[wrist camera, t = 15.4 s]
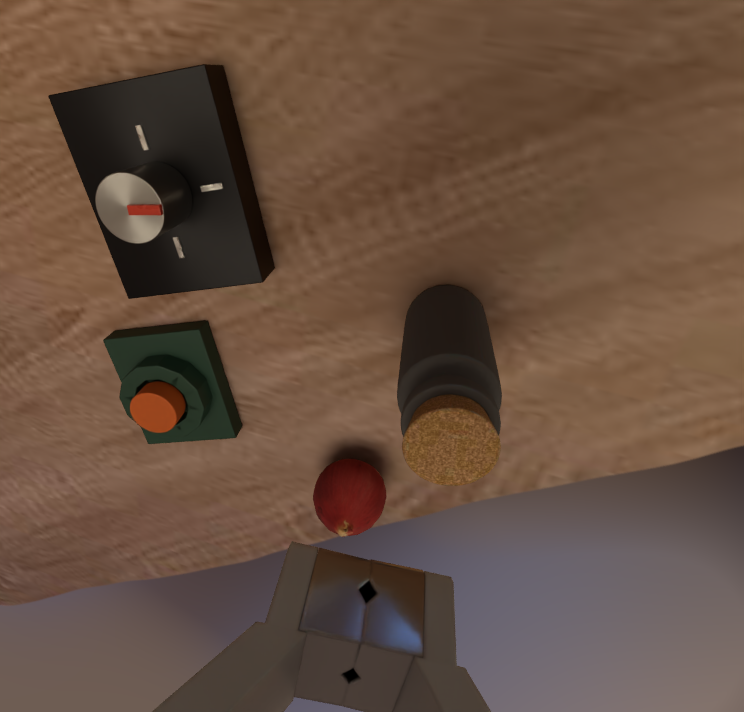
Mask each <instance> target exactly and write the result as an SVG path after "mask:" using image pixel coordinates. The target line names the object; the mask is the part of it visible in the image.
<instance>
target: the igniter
mask: <svg viewBox="0 0 744 712" xmlns="http://www.w3.org/2000/svg"><path fill="white" fill-rule="evenodd" d="M103 341H104V343H105V346H106V348H107V350H108V353H109V355H110V357H111V359H112V362H113V364H114V366H115V369H116V371H117V373H118V375H119V378H120V380H121V382H122V385H121V391H120V399H121V402H122V404H123V406H124V408H125V411H126V413H127V415H128V416H129V417H130V418H131V419H132V420H134V419H133V417H132V415H131V412H130V403H131V401H132V399H133V398H134V397H135V395H136V394H137V393H138V392H139V391H140V390H141V389H142V388H143V387H144V386H145V385H146V384H148V383H150V382H155V381H161V382H165V383H168V384H170V385H172V386H174V387H175V388H177V389H178V390H179V391H180V392H181V394H182V395H183V397H184V399H185V403H186V409H185V412H184V414H183V415H182V417H181V418H180V419H179V421H178V422H177V423H176V425H175V426H174V427H173V428H172V429H171V430H169V431H167V432H163V433H156V432H151V431H148V430H146V429H144V428H143V427H141V426H140V425H139V424H138V423H137V422H136V421H135V420H134V421H135V422H136V423H137V424H138V425H139V426H140V427H141V428H142V430H143V433H144V435H145V437H146V440H147V442H148V444H157V443H171V442H185V441H199V440H213V439H227V438H236V437H237V435H238V433H239V431H240V429H241V428H242V424H241V421H240V418H239V415H238V412H237V409H236V406H235V403H234V400H233V397H232V394H231V391H230V388H229V385H228V382H227V379H226V376H225V373H224V370H223V367H222V364H221V360H220V357H219V354H218V351H217V348H216V345H215V342H214V339H213V336H212V333H211V330H210V327H209V324H208V321H198V322H189V323H181V324H172V325H163V326H154V327H145V328H136V329H127V330H118V331H114V332H113V333H111V334H110V335H109V336H107V337H106V338H105V339H104V340H103Z"/></svg>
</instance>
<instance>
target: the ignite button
mask: <svg viewBox="0 0 744 712" xmlns="http://www.w3.org/2000/svg"><path fill="white" fill-rule="evenodd" d="M185 409H186V403H185V399H184V397H183V395H182V394H181V392H180V391H179V390H178V389H177V388H175V387H174V386H172V385H170V384H168V383H165V382H161V381H155V382H150V383H148V384H146V385H145V386H144V387H143V388H142V389H141V390H140V391H139V392H138V393H137V394H136V395H135V397H134V398H133V399H132V401H131V403H130V412H131V415H132V417H133V419H134V420H135V421H136V422H137V423H138V424H139V425H140V426H141V427H143V428H144V429H146V430H148V431H151V432H156V433H163V432H167V431H169V430H171V429H172V428H173V427H174V426H175V425H176V423H177V422H178V421H179V419H180V418H181V417H182V415H183V414H184V412H185Z"/></svg>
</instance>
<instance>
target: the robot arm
mask: <svg viewBox="0 0 744 712" xmlns="http://www.w3.org/2000/svg"><path fill="white" fill-rule="evenodd" d="M317 553H318V554H317ZM453 587H454V586H453V580H452V578H451V577H449V576H444V575H439V574H434V573H430V572H426V571H424V572H423V570H419V569H414V568H410V567H405V566H400V565H395V564H391V563H385V562H381V561H376V560H367V559H363V558H359V557H355V556H351V555H347V554H343V553H339V552H334V551H330V550H327V549H323V548H319V550H318V547H314V546H310V545H305V544H301V543H297V542H293V541H292V542H291V544H290V546H289V548H288V551H287V554H286V557H285V560H284V564H283V567H282V570H281V573H280V576H279V580H278V583H277V586H276V589H275V592H274V596H273V599H272V602H271V605H270V609H269V612H268V615H267V618H266V621H265V623H262V622H255V623H254V624H253V625H252V626H251V627H250V628H249V629H247V630H246V631H245V632H244V633H243V634H242V635H240V636H239V637H238V638H237V639H236V640H235V641H233V642H232V643H231V644H230V645H229V646H228V647H226V648H225V649H224V650H223V651H222V652H221V653H219V654H218V655H217V656H216V657H215V658H214V659H213V660H211V661H210V662H209V663H208V664H207V665H206V666H204V667H203V668H202V669H201V670H200V671H199V672H197V673H196V674H195V675H194V676H193V677H192V678H191V679H189V680H188V681H187V682H186V683H185V684H184V685H183V686H181V687H180V688H179V689H178V690H177V691H175V692H174V693H173V694H172V695H171V696H170V697H168V698H167V699H166V700H165V701H164V702H163V703H161V704H160V705H159V706H158V707H157V708H156V709H155V710H153V712H284V711H285V709H286V708H287V707H288V706H289V705H290V703H291V702H292V701H293V698H294V697H297V698H303V699H308V700H313V701H318V702H323V703H329V704H334V705H339V706H344V707H348V708H351V709H355V710H359V711H364V712H491V711H490V709H489V707H488V706H487V704H486V702H485V701H484V699H483V697H482V696H481V694H480V692H479V691H478V689H477V687H476V686H475V684H474V682H473V681H472V679H471V677H470V676H469V674H468V672H467V670H466V669H465V668H463V667H460V666H457V663H456V638H455V612H454V588H453Z"/></svg>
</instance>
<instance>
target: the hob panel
mask: <svg viewBox="0 0 744 712" xmlns="http://www.w3.org/2000/svg"><path fill="white" fill-rule="evenodd" d="M49 99H50V101H51V104H52V106H53V109H54V112H55V114H56V117H57V119H58V122H59V124H60V127H61V129H62V132H63V134H64V137H65V139H66V142H67V144H68V147H69V149H70V152H71V154H72V157H73V159H74V162H75V164H76V167H77V170H78V172H79V175H80V177H81V180H82V182H83V185H84V187H85V190H86V192H87V195H88V197H89V200H90V202H91V205H92V207H93V210H94V212H95V215H96V217H97V220H98V223H99V225H100V228H101V230H102V233H103V235H104V238H105V240H106V243H107V245H108V248H109V250H110V253H111V255H112V258H113V260H114V263H115V265H116V268H117V270H118V273H119V276H120V278H121V281H122V283H123V286H124V288H125V291H126V293H127V296H128V298H129V299H131V298H140V297H148V296H156V295H164V294H172V293H180V292H188V291H197V290H205V289H213V288H221V287H229V286H237V285H245V284H254V283H262V282H264V280H265V279H266V278H267V277H268V276H269V274H270V273H271V272H272V271H273V270H274V268H275V267H274V263H273V259H272V255H271V251H270V248H269V244H268V240H267V236H266V232H265V228H264V224H263V220H262V216H261V212H260V208H259V204H258V200H257V196H256V193H255V189H254V185H253V181H252V177H251V173H250V169H249V165H248V161H247V157H246V153H245V149H244V145H243V141H242V137H241V134H240V130H239V126H238V122H237V118H236V114H235V110H234V106H233V102H232V98H231V94H230V90H229V86H228V82H227V79H226V75H225V71H224V67H223V65H207V64H203V65H198V66H193V67H188V68H183V69H178V70H173V71H168V72H163V73H158V74H153V75H148V76H143V77H138V78H133V79H128V80H123V81H118V82H113V83H108V84H103V85H98V86H93V87H88V88H83V89H78V90H73V91H68V92H63V93H58V94H53V95H49ZM149 162H161V163H165V164H167V165H170V166H171V167H173V168H175V169H176V170H177V171H178V172H179V173H180V174H181V175H182V176H183V177H184V178H185V180H186V181H187V183H188V185H189V187H190V190H191V194H192V208H191V212H190V214H189V216H188V217H187V219H186V220H185V221H184V222H182V223H181V224H179V225H177V226H176V227H174V228H172V229H170V230H169V231H167V232H165V233H164V234H162V235H160V236H158V237H157V238H155V239H153V240H151V241H150V242H147V243H142V244H135V243H129V242H126V241H124V240H122V239H120V238H118V237H116V236H115V235H114V234H112V233H111V232H110V231H109V230H108V229H107V228H106V226H105V225H104V224H103V222H102V221H101V219H100V217H99V215H98V212H97V208H96V202H95V197H96V191H97V188H98V186H99V184H100V182H101V181H102V180H103V179H104V178H105V177H106V176H108V175H110V174H112V173H115V172H119V171H122V170H125V169H129V168H132V167H135V166H138V165H142V164H145V163H149Z"/></svg>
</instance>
